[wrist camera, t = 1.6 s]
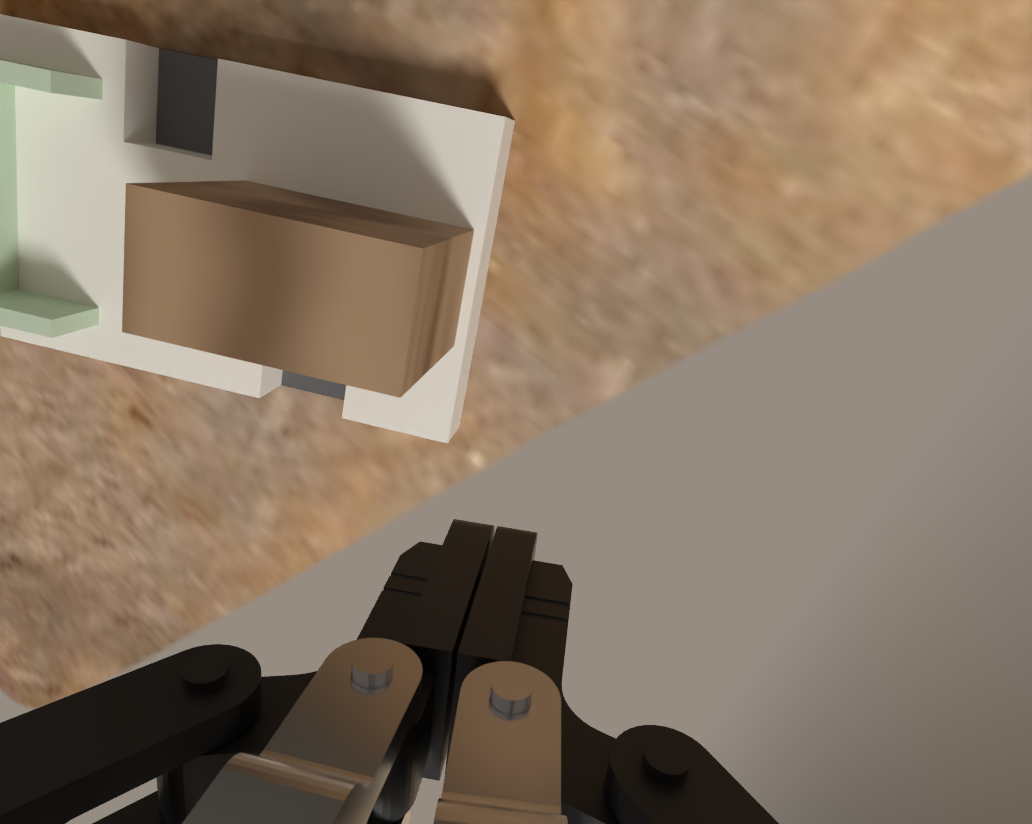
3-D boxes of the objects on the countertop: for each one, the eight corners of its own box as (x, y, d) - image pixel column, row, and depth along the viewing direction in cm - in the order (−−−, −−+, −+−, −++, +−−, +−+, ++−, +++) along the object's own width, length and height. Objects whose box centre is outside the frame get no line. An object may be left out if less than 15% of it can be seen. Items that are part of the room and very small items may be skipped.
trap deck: (515, 121, 32) (492, 111, 27) (459, 425, 37) (430, 467, 32) (36, 23, 34) (-72, -3, 29) (39, 326, 39) (-53, 350, 33)
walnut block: (474, 229, 31) (423, 248, 24) (454, 345, 33) (400, 397, 25) (245, 180, 32) (125, 183, 25) (236, 295, 34) (121, 332, 26)
